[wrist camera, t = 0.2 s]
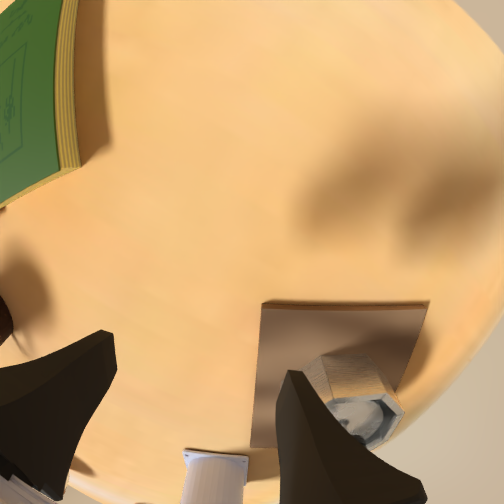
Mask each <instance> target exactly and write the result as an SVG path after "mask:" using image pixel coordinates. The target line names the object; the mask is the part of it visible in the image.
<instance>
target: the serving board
mask: <svg viewBox="0 0 504 504" xmlns="http://www.w3.org/2000/svg"><path fill="white" fill-rule="evenodd" d="M426 311H427V308H426V307H425V306H424V305H402V306H316V305H284V304H262V307H261V321H260V334H259V346H258V359H257V371H256V383H255V395H254V406H253V417H252V428H251V439H250V447H251V448H278V445H277V436H276V426H275V412H276V401H277V398H278V396H279V391H280V385H281V381H282V380H284V379H285V376H286V373H287V370H297V371H298V370H299V369H301V368H302V367H304V366H305V365H307V364H308V363H310V362H311V361H313V360H314V359H316V358H317V357H319V356H321V355H344V354H364V353H366V354H367V355H368V356H369V357H370V358H371V359H372V361H373V362H374V363H375V364H376V365H377V366H378V368H379V369H380V370H381V371H382V372H383V373H384V375H385V376H386V378H387V380H388V382H389V383H390V385H391V387H392V389H393V391H394V393H395V391H396V389H397V387H398V385H399V383H400V381H401V378H402V376H403V374H404V371H405V369H406V367H407V364H408V362H409V359H410V357H411V354H412V352H413V349H414V347H415V344H416V341H417V338H418V336H419V333H420V330H421V327H422V324H423V321H424V318H425V315H426Z"/></svg>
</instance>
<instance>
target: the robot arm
mask: <svg viewBox="0 0 504 504" xmlns="http://www.w3.org/2000/svg"><path fill="white" fill-rule="evenodd" d="M116 372H117V363H116V355H115V346H114V336H113V333H110V332H107V331H104V330H99V331H97V332H95V333H93V334H91V335H89V336H87V337H85V338H83V339H81V340H79V341H77V342H75V343H73V344H71V345H69V346H66V347H64V348H62V349H60V350H58V351H55V352H53V353H51V354H48V355H46V356H44V357H41V358H38V359H35V360H32V361H29V362H26V363H22V364H18V365H13V366H8V367H3V368H0V504H57V503H55V502H54V501H60V500H62V499H63V494H64V489H65V484H66V479H67V476H68V472H69V468H70V465H71V462H72V459H73V456H74V453H75V450H76V448H77V445H78V443H79V440H80V438H81V435H82V433H83V431H84V429H85V427H86V425H87V423H88V422H89V420H90V418H91V417H92V415H93V413H94V412H95V410H96V409H97V407H98V405H99V404H100V402H101V401H102V399H103V397H104V396H105V394H106V392H107V391H108V389H109V387H110V385H111V383H112V381H113V379H114V376H115V374H116ZM275 426H276V436H277V445H278V454H279V463H280V504H425V503H426V501H427V495H426V493H425V490H424V488H423V485H422V483H421V481H420V480H419V479H417V478H415V477H412V476H410V475H408V474H406V473H404V472H402V471H400V470H397V469H396V468H394V467H393V466H391V465H389V464H388V463H386V462H384V461H383V460H381V459H380V458H378V457H377V456H376V455H374V454H373V453H372V452H370V451H369V450H368V449H366V448H365V447H364V446H363V445H362V444H360V443H359V442H358V441H357V440H356V439H355V438H354V437H353V436H352V435H351V434H350V433H349V432H348V431H347V430H346V429H345V428H344V427H343V426H342V425H341V424H340V423H339V422H338V420H337V419H336V418H335V417H334V416H333V414H332V413H331V412H330V411H329V409H328V408H327V406H326V405H325V404H324V402H323V401H322V400H321V398H320V397H319V395H318V394H317V392H316V391H315V389H314V388H313V386H312V385H311V383H310V382H309V380H308V379H307V377H306V376H305V374H304V373H303V371H297V370H287V373H286V376H285V379H284V382H283V384H282V387H281V390H280V393H279V396H278V398H277V401H276V412H275ZM182 453H183V457H184V460H185V464H186V467H187V473H186V478H185V483H184V487H183V492H182V497H181V502H180V504H243V489H244V486H246V482H247V472H248V462H249V457H248V456H242V455H227V454H217V453H208V452H200V451H193V450H186V449H185V450H183V452H182ZM32 487H33V488H34V489H33V488H32ZM35 489H36V490H37V491H39V492H41V493H43V494H44V495H46V496H47V497H49V498H51V499H53V500H54V501H52V500H50V499H49V498H47V497H45V496H44V495H42V494H41V493H39V492H37V491H36V490H35Z"/></svg>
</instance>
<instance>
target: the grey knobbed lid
mask: <svg viewBox="0 0 504 504" xmlns="http://www.w3.org/2000/svg"><path fill="white" fill-rule="evenodd" d="M328 409H329V411H330V412H331V413H332V414H333V416H334V417H335V418H336V419H337V420H338V422H339V423H340V424H341V425H342V426H343V427H344V428H345V429H346V430H347V431H348V432H349V433H350V434H351V435H352V436H353V437H354V438H355V439H356V440H357V441H358V442H359V443H360V444H362V445H363V446H364V447H365V448H366V449H367V446H366V443H365V440H366V439H367V438H369V437H370V436H371V435H372V434H373V433H374V432H375V431H376V430H377V429H378V428H379V426H380V425H381V423H382V420H383V411H382V409H381V407H380V405H379V403H378V402H377V401H376V400H369V401H361V402H351V403H340V404H334V405H332V406H331V407H329V408H328Z"/></svg>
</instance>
